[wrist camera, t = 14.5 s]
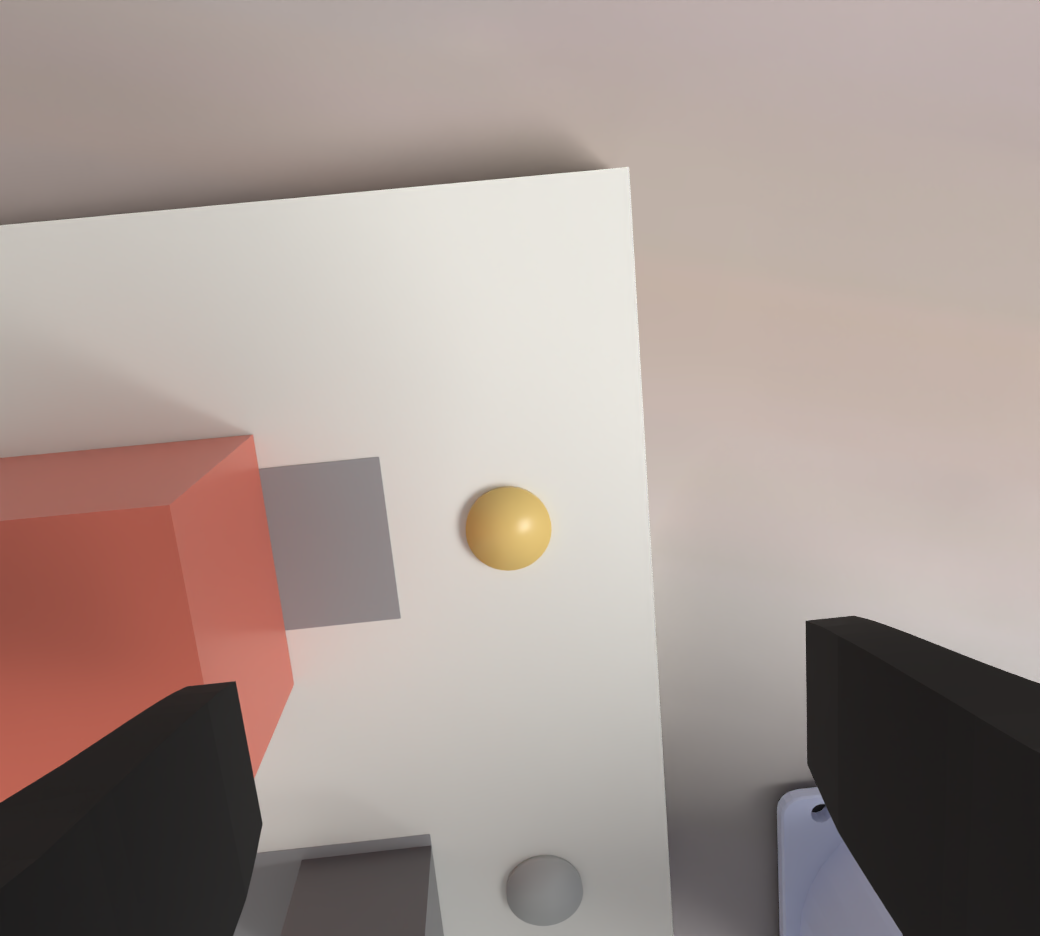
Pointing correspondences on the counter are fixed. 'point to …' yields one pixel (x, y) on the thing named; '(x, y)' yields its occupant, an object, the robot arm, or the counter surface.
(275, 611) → the coral red cube
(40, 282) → the breaker panel
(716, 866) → the counter surface
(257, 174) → the counter surface
